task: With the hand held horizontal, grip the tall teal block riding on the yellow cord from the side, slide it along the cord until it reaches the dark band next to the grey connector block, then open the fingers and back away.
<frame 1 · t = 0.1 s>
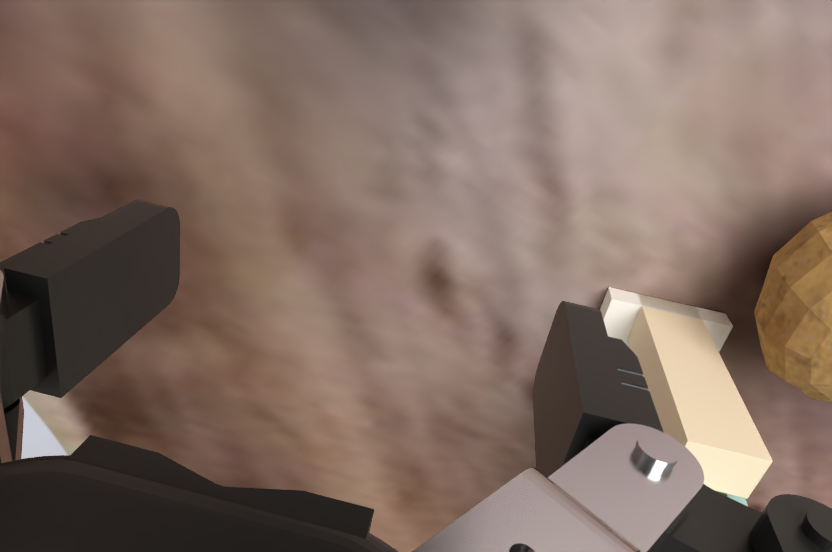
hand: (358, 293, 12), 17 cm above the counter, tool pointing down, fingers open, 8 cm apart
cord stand: (608, 427, 34), on the counter
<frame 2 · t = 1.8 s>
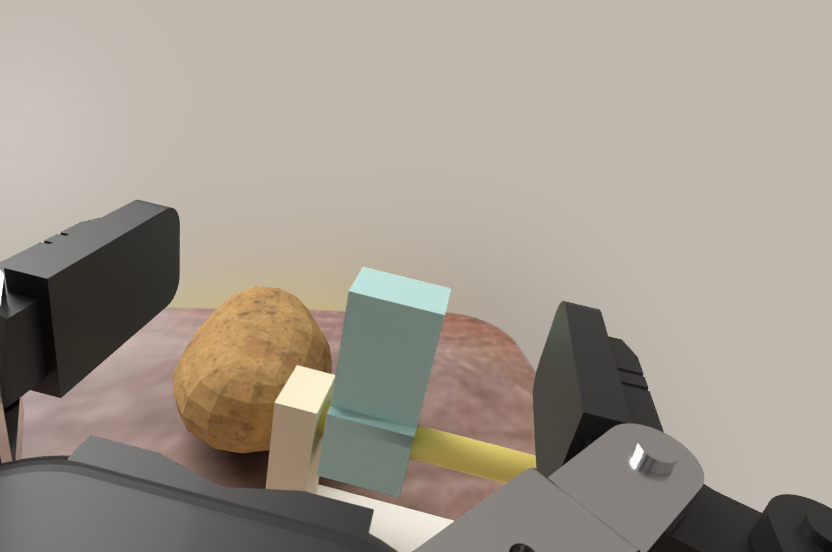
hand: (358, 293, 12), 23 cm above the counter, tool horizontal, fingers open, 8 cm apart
tall teal block: (382, 381, 27), point 12 cm above the counter, slide at 0.0 cm
potato: (253, 416, 40), on the counter
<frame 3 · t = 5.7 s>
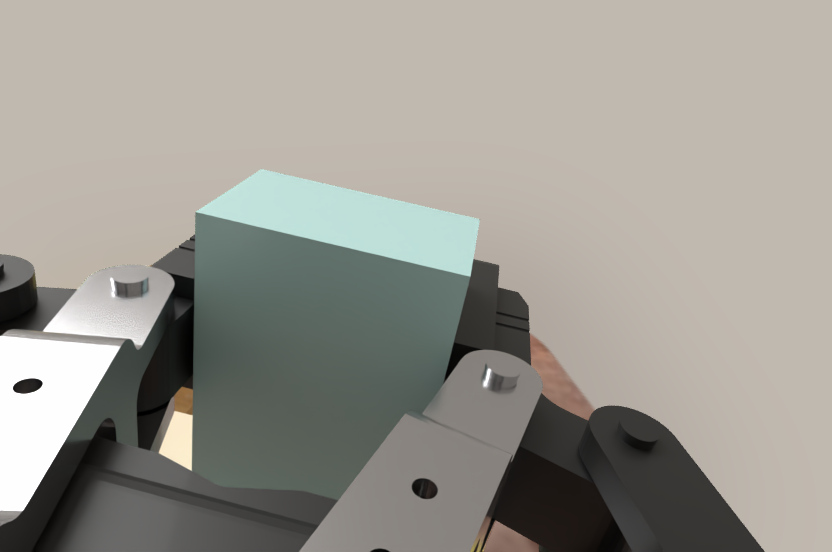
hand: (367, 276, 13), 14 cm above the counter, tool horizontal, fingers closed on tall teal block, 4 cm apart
tall teal block: (319, 446, 11), point 12 cm above the counter, slide at 0.0 cm, touching gripper
potato: (144, 472, 25), on the counter
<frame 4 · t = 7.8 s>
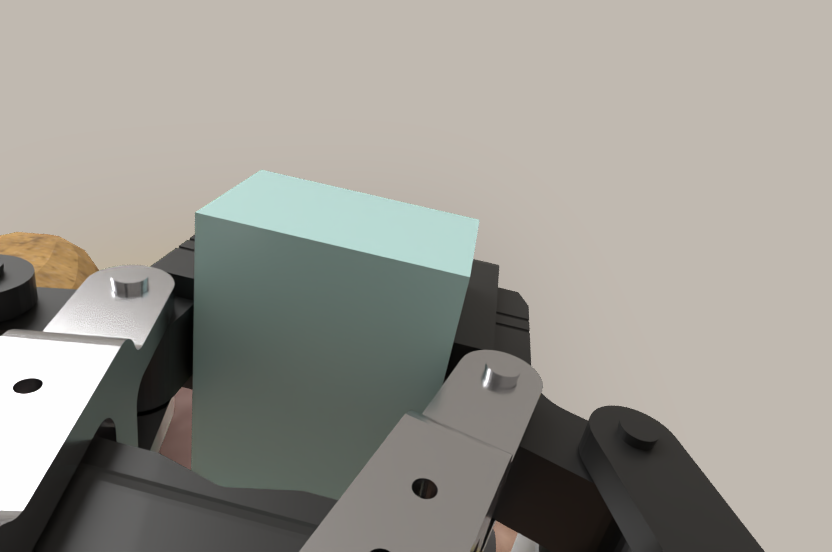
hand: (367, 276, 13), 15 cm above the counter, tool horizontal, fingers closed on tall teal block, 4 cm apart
tall teal block: (318, 447, 11), point 12 cm above the counter, slide at 6.8 cm, touching gripper
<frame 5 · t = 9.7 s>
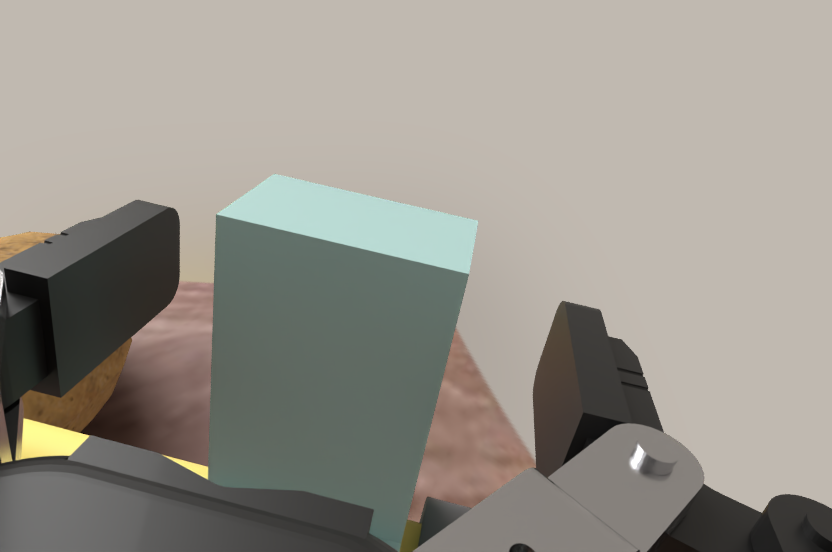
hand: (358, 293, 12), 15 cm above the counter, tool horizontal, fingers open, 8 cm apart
tall teal block: (327, 434, 12), point 12 cm above the counter, slide at 6.8 cm
potato: (12, 428, 26), on the counter
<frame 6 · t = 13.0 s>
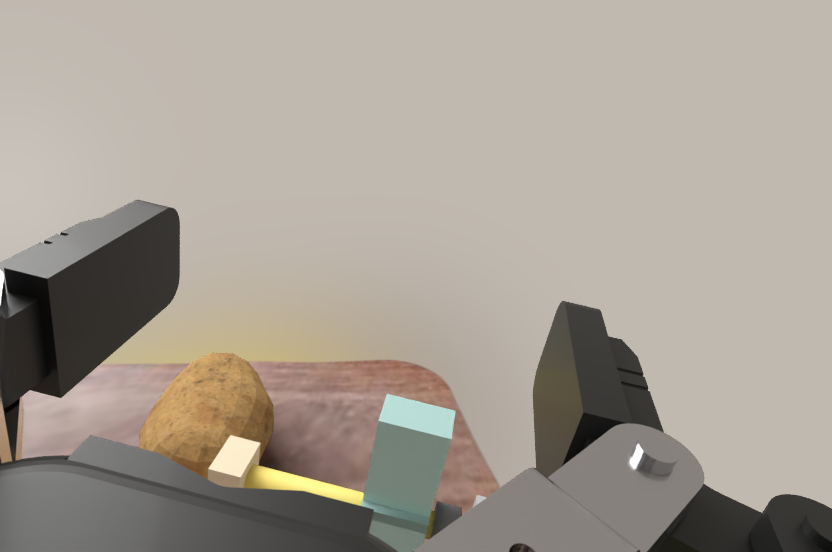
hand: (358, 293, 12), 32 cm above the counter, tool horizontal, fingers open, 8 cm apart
tall teal block: (402, 479, 34), point 12 cm above the counter, slide at 6.8 cm
potato: (209, 463, 48), on the counter
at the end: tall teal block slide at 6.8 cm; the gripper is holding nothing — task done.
